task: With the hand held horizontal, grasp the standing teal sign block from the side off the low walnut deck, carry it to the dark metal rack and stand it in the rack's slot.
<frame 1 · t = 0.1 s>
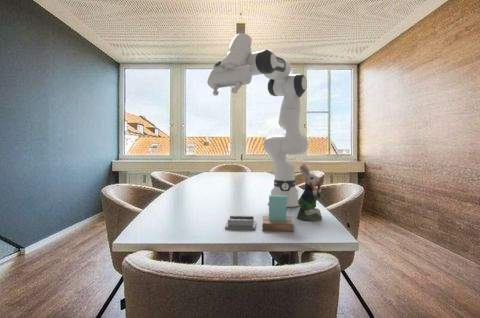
hand: (224, 93, 126), 54 cm above the table, tool tilted 30°, fingers open, 8 cm apart
figurine: (309, 218, 145), on the table
rack: (241, 226, 130), on the table
sign block: (277, 220, 129), point 3 cm above the table, touching deck
deck: (277, 227, 129), on the table
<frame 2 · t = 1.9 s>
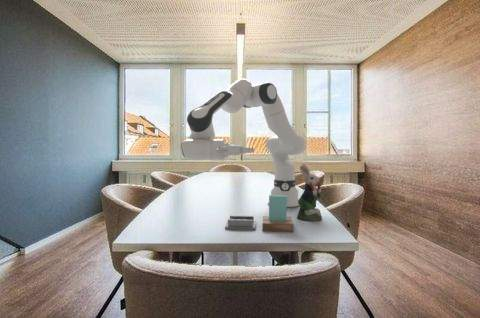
hand: (253, 150, 129), 32 cm above the table, tool horizontal, fingers open, 8 cm apart
nothing on the table moved.
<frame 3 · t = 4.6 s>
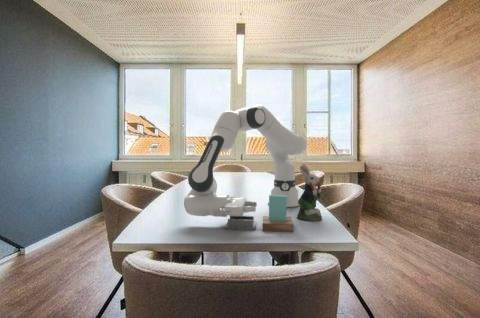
hand: (256, 206, 130), 8 cm above the table, tool horizontal, fingers open, 8 cm apart
nothing on the table moved.
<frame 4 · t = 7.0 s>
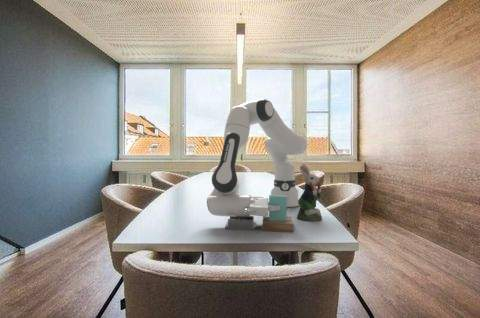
hand: (279, 206, 129), 9 cm above the table, tool horizontal, fingers closed on sign block, 3 cm apart
sign block: (277, 220, 129), point 3 cm above the table, touching deck, gripper
everything else where it was.
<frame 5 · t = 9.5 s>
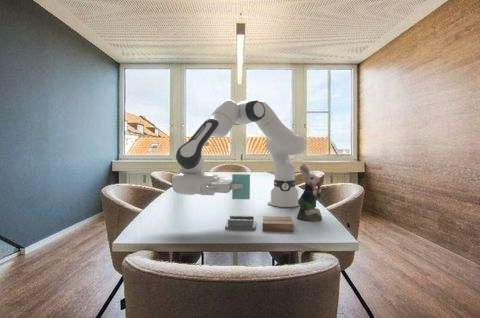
hand: (243, 185, 129), 17 cm above the table, tool horizontal, fingers closed on sign block, 3 cm apart
sign block: (241, 198, 130), point 12 cm above the table, touching gripper
everything else where it was.
when the fingers open (8 cm above the table, at t = 11.8 s): sign block drops 2 cm, resting on rack.
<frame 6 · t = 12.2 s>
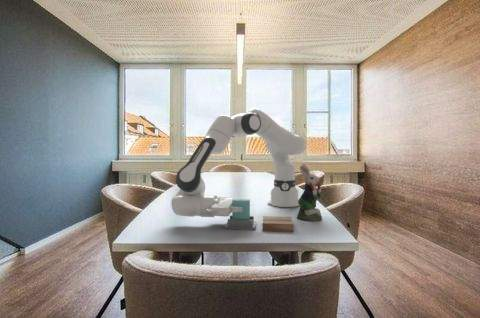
hand: (243, 207, 130), 8 cm above the table, tool horizontal, fingers open, 7 cm apart
sign block: (241, 223, 130), point 1 cm above the table, touching rack
everything else where it was.
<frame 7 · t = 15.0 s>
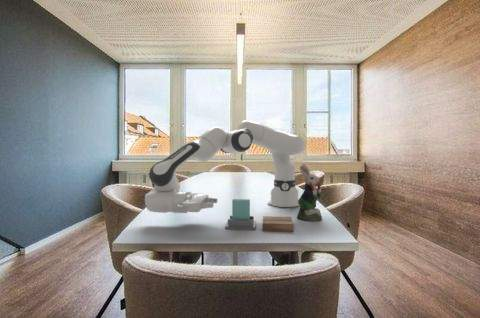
hand: (215, 202, 131), 9 cm above the table, tool horizontal, fingers open, 8 cm apart
nothing on the table moved.
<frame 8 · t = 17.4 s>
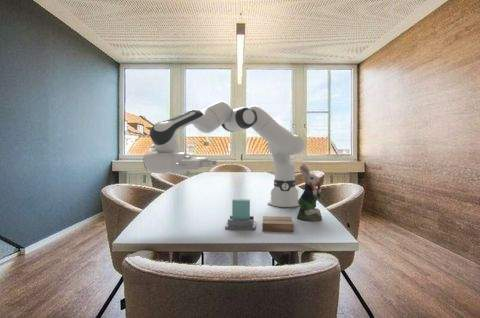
hand: (214, 163, 130), 26 cm above the table, tool horizontal, fingers open, 8 cm apart
nothing on the table moved.
at the end: sign block inside the target area on the rack (0.1 cm from its centre), point 1.0 cm above the rack's base; sign block tilted 0°; the gripper is holding nothing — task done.
